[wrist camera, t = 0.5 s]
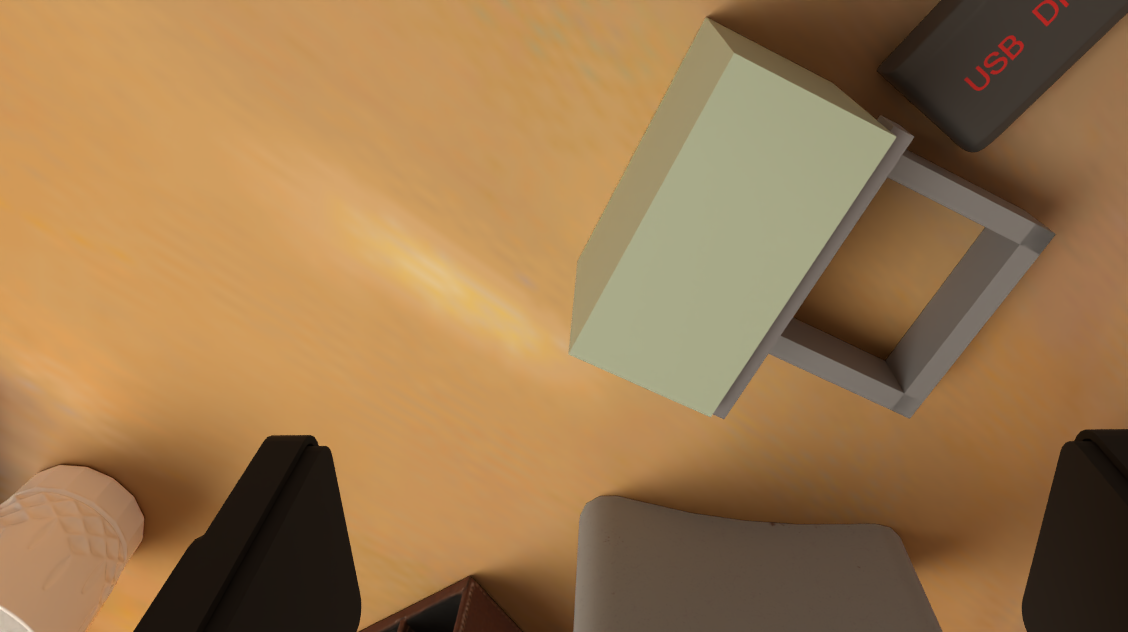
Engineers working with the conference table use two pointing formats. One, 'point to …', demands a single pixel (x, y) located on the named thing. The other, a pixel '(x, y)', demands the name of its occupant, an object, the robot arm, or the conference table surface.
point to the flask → (740, 574)
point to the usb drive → (993, 59)
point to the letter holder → (450, 613)
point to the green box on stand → (770, 238)
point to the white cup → (64, 548)
